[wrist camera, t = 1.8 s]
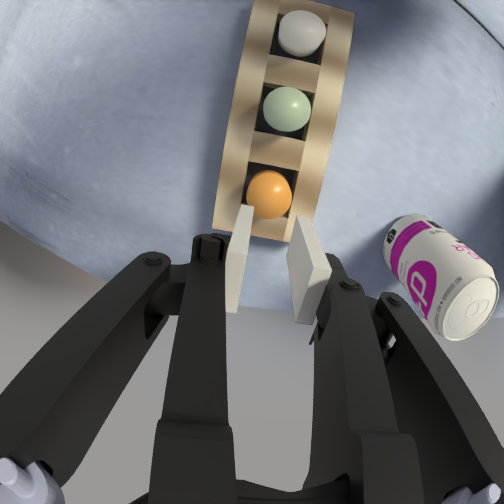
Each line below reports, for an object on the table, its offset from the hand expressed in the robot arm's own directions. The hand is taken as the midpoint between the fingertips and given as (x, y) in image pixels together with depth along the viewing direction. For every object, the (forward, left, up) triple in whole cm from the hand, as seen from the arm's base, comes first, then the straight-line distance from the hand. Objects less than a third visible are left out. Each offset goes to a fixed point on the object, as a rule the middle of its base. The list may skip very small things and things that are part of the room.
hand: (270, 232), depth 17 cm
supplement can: (+3, +19, -15) cm, 24 cm away
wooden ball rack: (-8, 0, -15) cm, 17 cm away
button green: (-8, 0, -12) cm, 14 cm away
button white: (-16, 0, -12) cm, 20 cm away
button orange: (0, 0, -12) cm, 12 cm away
